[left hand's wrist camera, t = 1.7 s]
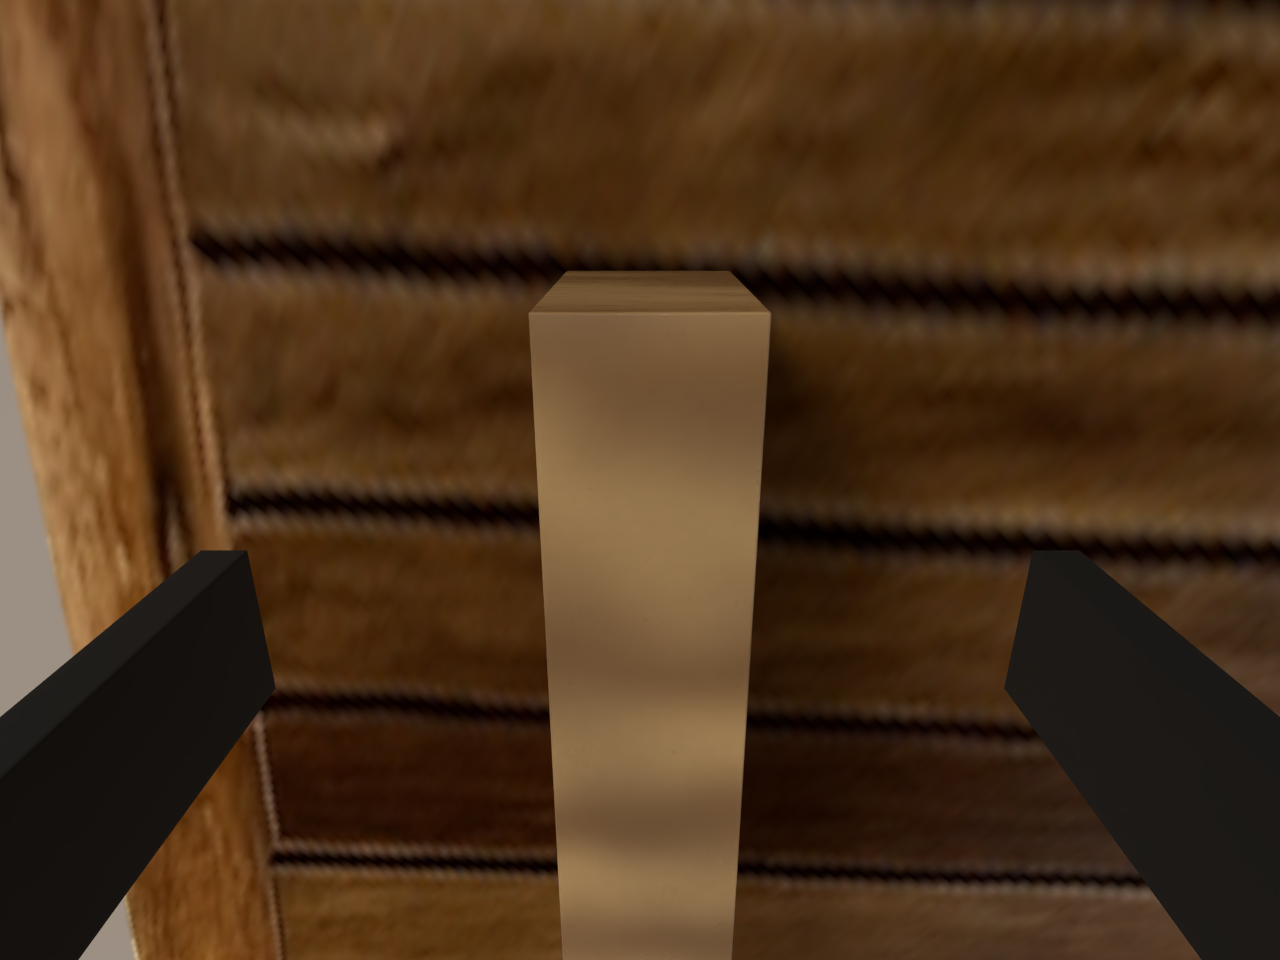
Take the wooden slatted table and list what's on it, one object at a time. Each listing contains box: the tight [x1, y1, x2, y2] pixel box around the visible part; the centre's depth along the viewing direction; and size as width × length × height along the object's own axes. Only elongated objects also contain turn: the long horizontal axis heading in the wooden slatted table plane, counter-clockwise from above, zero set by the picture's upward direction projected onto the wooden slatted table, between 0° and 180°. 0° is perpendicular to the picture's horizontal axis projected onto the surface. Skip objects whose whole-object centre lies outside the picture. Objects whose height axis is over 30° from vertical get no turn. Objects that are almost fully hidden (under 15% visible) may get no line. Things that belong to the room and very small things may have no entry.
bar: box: [529, 271, 771, 960], centre depth 25 cm, size 25×5×8 cm, turn 0°
